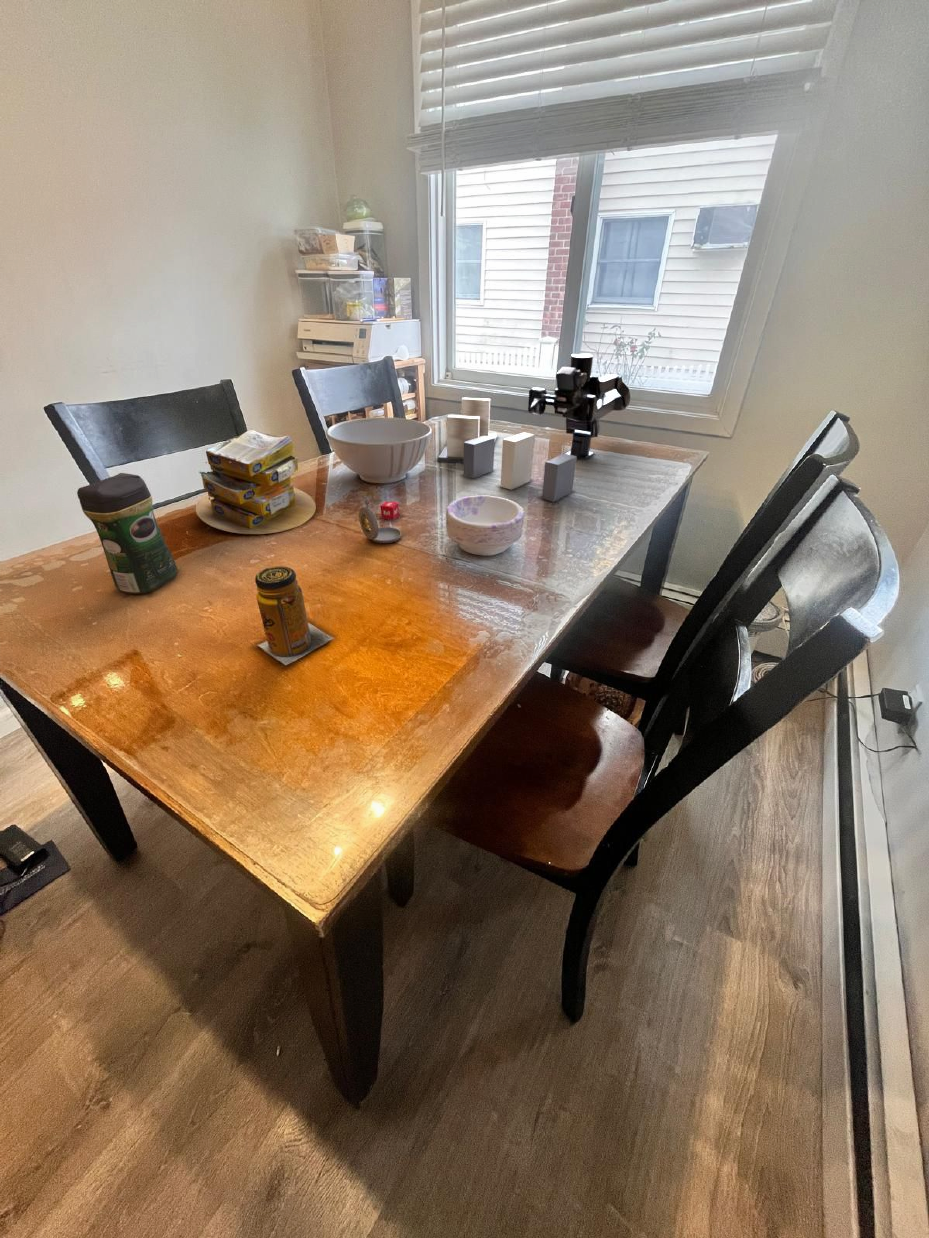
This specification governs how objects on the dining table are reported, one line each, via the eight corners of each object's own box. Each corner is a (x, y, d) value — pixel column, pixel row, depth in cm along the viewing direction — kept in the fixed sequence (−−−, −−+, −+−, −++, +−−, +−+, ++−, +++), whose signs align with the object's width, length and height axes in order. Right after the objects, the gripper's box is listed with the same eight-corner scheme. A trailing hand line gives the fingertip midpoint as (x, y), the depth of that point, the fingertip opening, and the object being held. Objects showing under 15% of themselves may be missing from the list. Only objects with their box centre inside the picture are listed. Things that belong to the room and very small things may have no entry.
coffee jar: (153, 566, 95) (116, 466, 85) (187, 573, 93) (153, 472, 83) (107, 591, 88) (61, 485, 77) (143, 600, 86) (100, 492, 75)
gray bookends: (483, 468, 146) (484, 435, 141) (572, 491, 131) (577, 456, 126) (463, 476, 140) (463, 442, 135) (553, 501, 125) (558, 464, 120)
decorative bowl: (429, 494, 128) (427, 444, 121) (321, 492, 128) (314, 443, 121) (435, 461, 150) (434, 418, 143) (343, 459, 150) (338, 416, 143)
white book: (519, 477, 139) (523, 432, 133) (531, 480, 137) (535, 434, 131) (500, 486, 133) (502, 439, 127) (511, 489, 132) (514, 441, 125)
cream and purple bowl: (509, 569, 97) (512, 529, 92) (434, 555, 101) (433, 517, 96) (529, 536, 108) (532, 500, 104) (461, 525, 113) (462, 490, 108)
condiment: (257, 646, 76) (238, 574, 69) (305, 621, 81) (292, 553, 74) (286, 667, 72) (268, 593, 65) (334, 639, 77) (323, 569, 71)
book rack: (496, 437, 173) (498, 398, 166) (485, 464, 149) (487, 420, 142) (455, 434, 175) (455, 396, 168) (437, 461, 150) (437, 417, 143)
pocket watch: (406, 534, 109) (404, 488, 103) (389, 550, 102) (385, 502, 96) (372, 528, 111) (367, 482, 105) (352, 544, 104) (346, 497, 99)
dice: (393, 520, 115) (392, 507, 113) (381, 518, 115) (380, 505, 114) (399, 515, 117) (398, 502, 115) (387, 513, 118) (386, 500, 116)
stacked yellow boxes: (338, 509, 119) (328, 435, 110) (246, 547, 102) (225, 463, 93) (269, 487, 131) (255, 418, 121) (176, 518, 114) (152, 441, 104)
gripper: (544, 362, 140) (516, 373, 130) (610, 369, 132) (584, 382, 121) (542, 405, 147) (514, 419, 137) (604, 415, 138) (579, 430, 128)
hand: (546, 412), depth 131 cm, fingers open, 9 cm apart
